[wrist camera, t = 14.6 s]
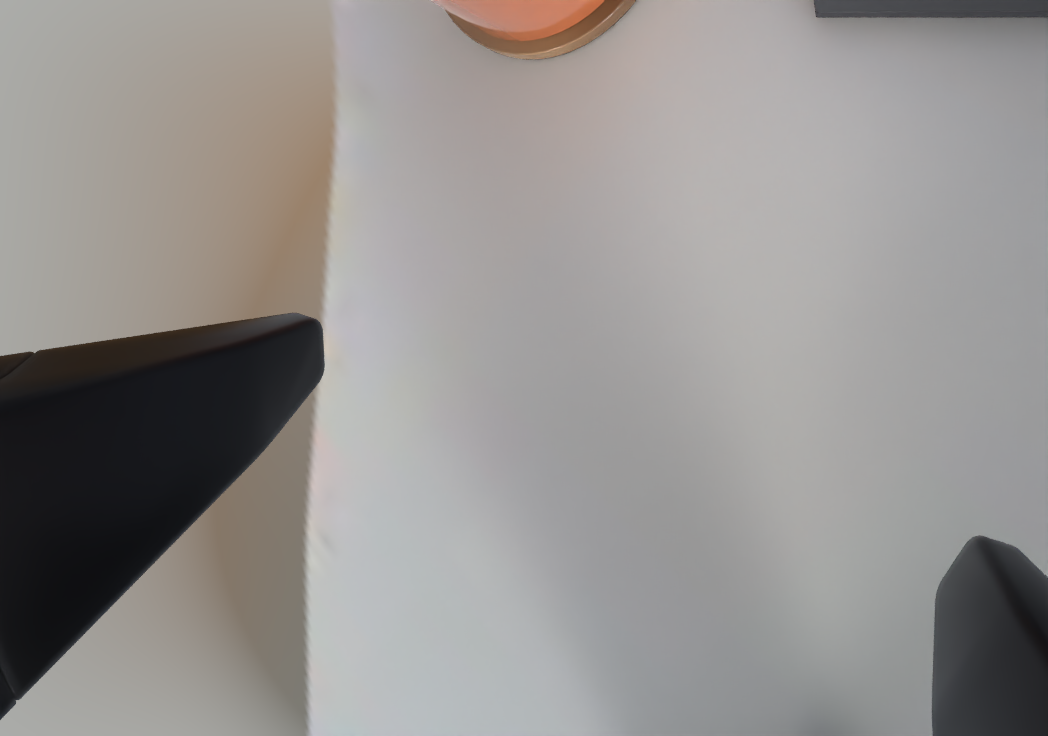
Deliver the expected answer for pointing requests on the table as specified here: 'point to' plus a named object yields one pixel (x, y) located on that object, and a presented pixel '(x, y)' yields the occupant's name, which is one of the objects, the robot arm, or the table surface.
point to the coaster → (554, 45)
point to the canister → (520, 16)
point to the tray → (931, 8)
